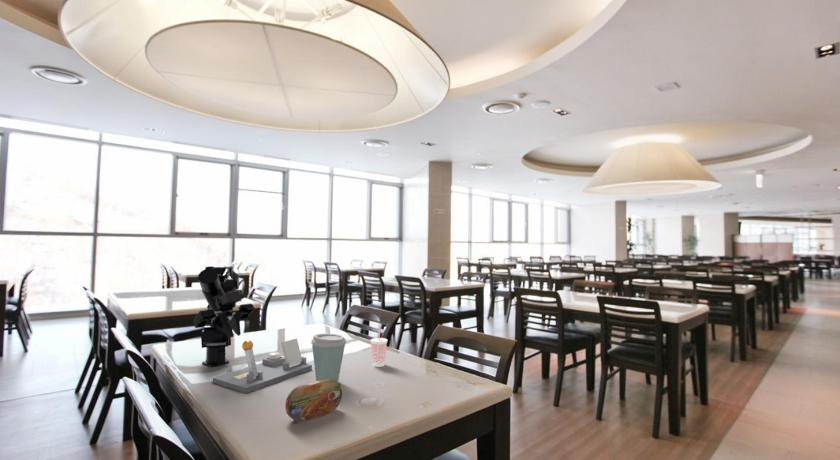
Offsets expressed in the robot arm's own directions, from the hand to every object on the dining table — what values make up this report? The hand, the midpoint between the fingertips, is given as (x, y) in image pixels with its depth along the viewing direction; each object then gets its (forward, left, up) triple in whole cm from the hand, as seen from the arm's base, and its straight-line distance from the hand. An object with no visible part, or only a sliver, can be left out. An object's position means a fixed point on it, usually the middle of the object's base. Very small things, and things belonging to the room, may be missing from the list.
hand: (236, 335), depth 129 cm
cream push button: (+2, +14, -11) cm, 18 cm away
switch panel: (+6, +7, -14) cm, 16 cm away
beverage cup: (+30, +37, -14) cm, 49 cm away
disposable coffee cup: (+28, +13, -14) cm, 34 cm away
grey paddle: (+10, +16, -12) cm, 22 cm away
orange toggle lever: (+10, 0, -12) cm, 15 cm away
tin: (+41, -6, -14) cm, 43 cm away
